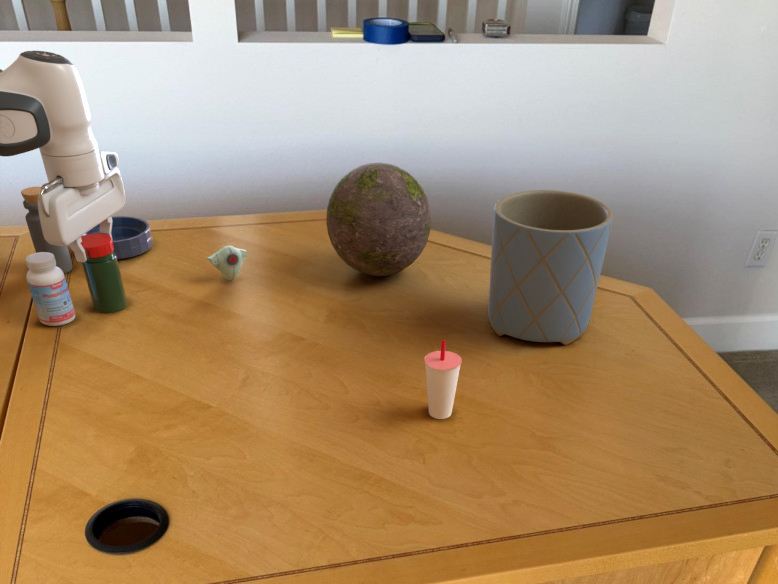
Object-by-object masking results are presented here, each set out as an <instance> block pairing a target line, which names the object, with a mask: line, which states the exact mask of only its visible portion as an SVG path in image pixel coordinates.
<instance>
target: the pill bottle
mask: <svg viewBox="0 0 778 584" xmlns="http://www.w3.org/2000/svg"><path fill="white" fill-rule="evenodd" d="M24 261H25V264H26V267H27V269H28V271H27V273H26V275H25V276H26V277H25V278H26V282H27V285H28V288H29V292H30V295H31V298H32V302H33V304H34V308H35V311H36V314H37V317H38V320H39V322H40V324H43V325H45V326H49V327H60V326H65V325H67V324H70V323H71V322H73V321H74V320H75V318H76V311H75V308H74V304H73V302H72V298H71V294H70V291H69V287H68V283H67V280H66V277H65V273H63V271H62V270H61V269H60V268H59V267H57V266H56V260H55V257H54V255H53V254H52V253H49V252H38V253H36V252H34V253H31V254H28V255H27V256H26V257H25V260H24Z"/></svg>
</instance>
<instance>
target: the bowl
mask: <svg viewBox="0 0 778 584" xmlns="http://www.w3.org/2000/svg"><path fill="white" fill-rule="evenodd" d="M94 233H100V224H98V225H97V226H95V227H94V228H92V229H91V230H89V231H88V232H87V233H85V234H84V235H87V234H94ZM111 235H112V240H113V245H114V250H113V251H112V252H114V253H115V254H116V257H117V260H122V259H127V258H133V257H136V256H139V255H142V254H144V253H146V252H147V251H149V250H150V249H151V248H152V247H153V246H154V240H153V233H152V230H151V225H150V223H149V222H148V221H147V220H145V219H142V218H140V217H135V216H129V215H127V216H124V215H119V216H117V215H116V216H112V230H111ZM82 236H83V235H82Z"/></svg>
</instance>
